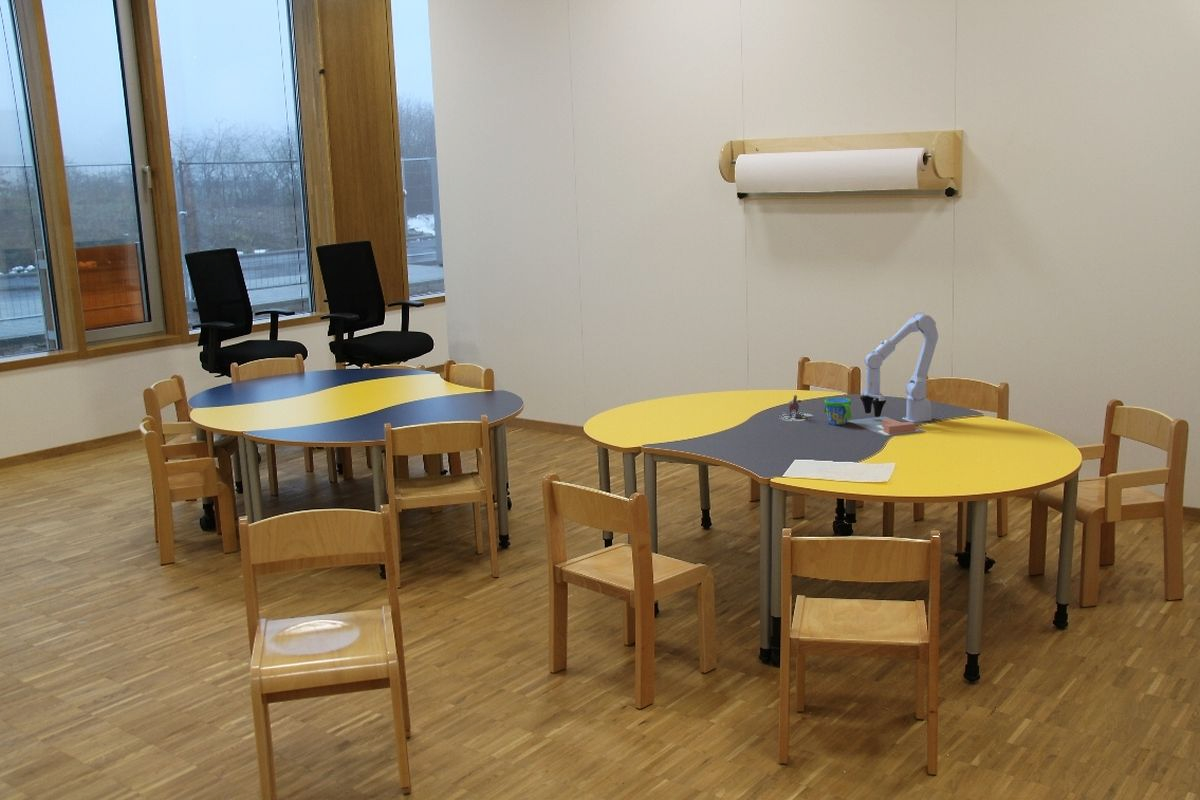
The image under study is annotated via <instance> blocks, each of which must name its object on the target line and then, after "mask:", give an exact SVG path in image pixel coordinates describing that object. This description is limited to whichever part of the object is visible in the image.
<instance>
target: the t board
mask: <svg viewBox="0 0 1200 800" xmlns="http://www.w3.org/2000/svg"><path fill="white" fill-rule="evenodd" d="M883 419H893V418H890V417H888V416H880V417H875V416H874V417H867V418H857V419H848V420H847V422H849V423H852V424H853V425H854V424H855V425H857V426H859V427H862V428H864V429H866V430H869V431H872V432H874V433H877V434H879V435H882V436H883V437H885V438H886V437H894V436H903V435H913V434H921V433H926V431H925V430H922V429H919V428H917V427H916V431H913V432H904V433H895V434H887V433H885V432H884V428H883V427H882V420H883ZM893 420H895V419H893ZM897 421H898V420H897ZM898 422H901V421H898ZM901 423H903V421H902V422H901Z"/></svg>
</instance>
